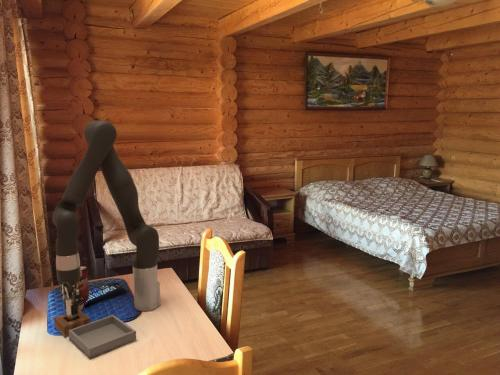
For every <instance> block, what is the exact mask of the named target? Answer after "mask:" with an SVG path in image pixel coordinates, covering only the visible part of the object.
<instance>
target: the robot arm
mask: <svg viewBox="0 0 500 375" xmlns="http://www.w3.org/2000/svg"><path fill="white" fill-rule="evenodd" d="M83 130H84V131H83V135H84V139H85V141H86V143H87V144H88V146H87V149H86V152H85V154H84V156H83V159H82V160H81V162H80V163H79V165H78V166H77V167H76V169H74V171H73V173H72V175H71V177H70V178H69V180H68V184H67V186H66V188H65V189H64V190H65V191H64V192H63V196H62V197H61V198H60V200H59V201H58V203H57V205H56V206H55V208H54V210H53V213H52V215H51V216H52V217H51V221H52V224H53V225H54V226H55V227H56V231H57V232H56V233H57V234H56V235H57V236H56V237H57V238H56V239H55V256H56V258H55V267H56V269H55V270H56V279H57V281H58V285H59V292H60V296H61V297H62V299H63V302H64V305H63V306H64V310H66V299H65V298H64V293H67V298H68V299H69V300H70V306H71V315H76V314H78V304H80V303H81V289H77V288H78V286H77V283H76V281H77V280H78V279H79V278H80V277H81V273H80V266H81V261H80V253H79V243H78V238H79V237H78V236H79V226H80V223H79V218H78V216H77V211H78V209H79V206H81V205H83V204H84V203H85V200H87V196H88V193H89V192H90V189H91V186H92V184H93V181H94V179H95V177H96V175H97V173H98V171H99V169H100V172H101V173H102V176H103V178H104V181H105V183H106V186H107V189H108V191H109V193H110V195H111V197H112V198H111V199H112V200H113V201H114V204H115V207H116V208H117V211H118V212H119V214H120V217H121V218H122V221H123V224H124V228H125V231H126V234H127V237H128V240H129V241H130V244H132V245H133V246H135V247H136V248H135V250H136V253H135V257H133V259H132V281H133V305H134V307H135V308H136V309H137V310H136V309H135V308H134V309H135V310H136V311H138V310H139V312H151V311H153V310H154V311H155V309H157V308H158V307H159V306H161V283H160V281H159V280H158V279H159V278H158V259H159V255H160V236H159V235H160V234H159V233H158V231H157V229H156V228H154V227H153V226H151V225H149V224H147V223H146V221H145V219H144V217H143V215H142V212H141V210H140V206H139V192H138V188H137V186H136V183H135V181H134V179H133V176H132V175H131V173H130V172H129V170H128V168H127V166H125V164H124V163H123V161H122V160H121V159H120V158H119V156H118V154H117V152H116V149H115V146H114V144H115V142H116V140H117V137H118V133H117V129H116V127H115V126H114V125H113V123H111V122H108V121H106V120H105V121H104V120H92V121H90V122H87V124H86V125H85V127H84V129H83ZM72 294H73V296H70V295H72ZM75 300H76V301H75Z"/></svg>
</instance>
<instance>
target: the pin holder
mask: <svg viewBox="0 0 500 375" xmlns="http://www.w3.org/2000/svg"><path fill="white" fill-rule="evenodd" d="M88 323H91V318H90V317H89V316H88V315H87V314H85V313H84V312H83V311H82V310H78V314H77V319H76V320H73V321H70V322H67V313H65V314H64V313H63V314H61V315H58V316H55V317H53V325H54V326H53V327H54V329H55V328H56V329H57V330H58V331H59V332H60V333H61V334H62V335H63V338H69V330H71V329H74V328H77V327H80V326H82V325H85V324H88ZM56 329H55V330H56ZM57 330H56V331H57ZM58 331H57V332H58ZM59 332H58V333H59ZM60 333H59V334H60ZM61 334H60V335H61ZM62 335H61V336H62Z"/></svg>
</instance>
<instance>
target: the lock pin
mask: <svg viewBox="0 0 500 375" xmlns="http://www.w3.org/2000/svg"><path fill="white" fill-rule="evenodd" d="M70 296H73V294H72V295H70ZM64 298H65V299H66V314H67V322H70V321H73V320H76V319H77V314H76V315H71V306H70V300H69V299H68V298H67V293H64ZM75 301H76V300H75Z"/></svg>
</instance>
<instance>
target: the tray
mask: <svg viewBox="0 0 500 375" xmlns="http://www.w3.org/2000/svg"><path fill="white" fill-rule="evenodd" d="M68 340H69V342H70V343H72V344H73V345H74V346H75V347H76V348H77V349H78V350H79V351H80V352H81V353H82V354H84V355H85V356H86V357H87V358H88V360H92V359H95V358H97V357H100V356H102V355H104V354H106V353H107V354H108V353H111V352H112V351H115V350H117V349H119V348H122V347H124V346H126V345H129V344H131V343H134V342H136V341H137V331H136V330H135V329H134V328H132V327H131V326H129V324H127V323H125V322H124V321H123V320H121V319H119V318H118V317H117V316H116V315H114V314H111V315H108V316H106V317H103V318H99V319H97V320H95V321H94V320H93V321H90V323H88V324H85V325H82V326H80V327H77V328H74V329H71V330H69V336H68Z"/></svg>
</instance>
